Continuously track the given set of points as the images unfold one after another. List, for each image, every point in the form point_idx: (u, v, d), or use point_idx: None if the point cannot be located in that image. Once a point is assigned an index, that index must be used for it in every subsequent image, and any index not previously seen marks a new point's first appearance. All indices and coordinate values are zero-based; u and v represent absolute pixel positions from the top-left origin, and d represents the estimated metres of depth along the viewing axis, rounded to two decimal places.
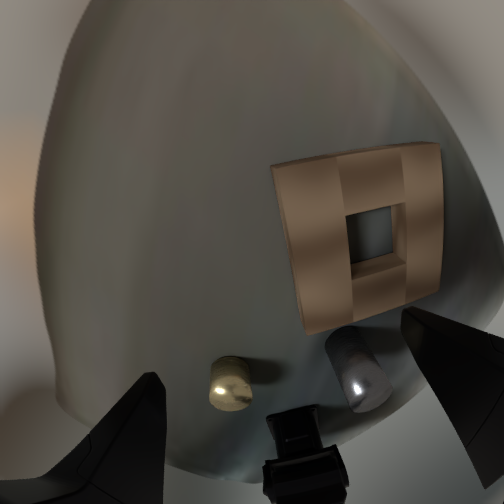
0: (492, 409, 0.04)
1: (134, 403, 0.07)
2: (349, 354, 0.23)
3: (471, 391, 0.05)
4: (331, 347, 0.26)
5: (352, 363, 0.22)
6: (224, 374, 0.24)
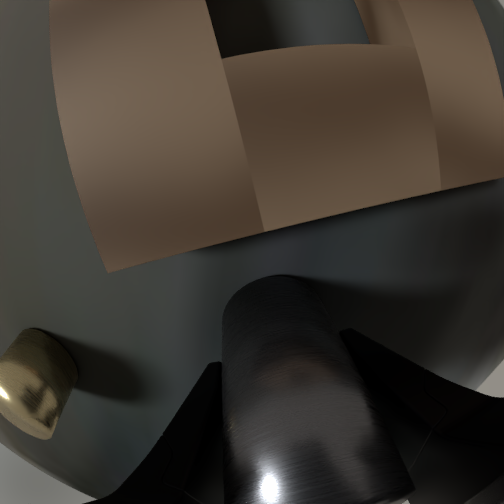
0: (418, 455, 0.04)
1: (210, 395, 0.07)
2: (257, 354, 0.07)
3: (399, 431, 0.05)
4: (225, 331, 0.09)
5: (257, 390, 0.06)
6: (3, 358, 0.08)
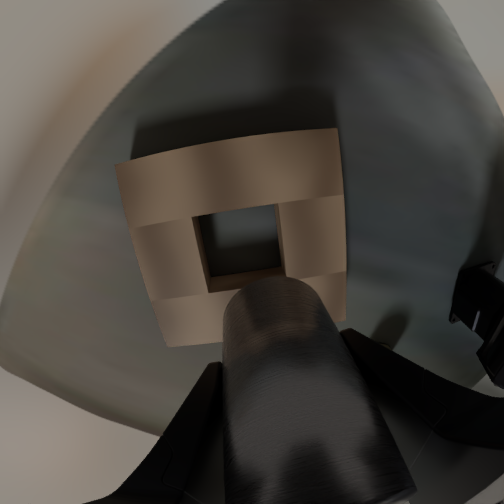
0: (418, 455, 0.04)
1: (210, 395, 0.07)
2: (258, 355, 0.07)
3: (399, 431, 0.05)
4: (225, 331, 0.09)
5: (258, 391, 0.06)
6: None
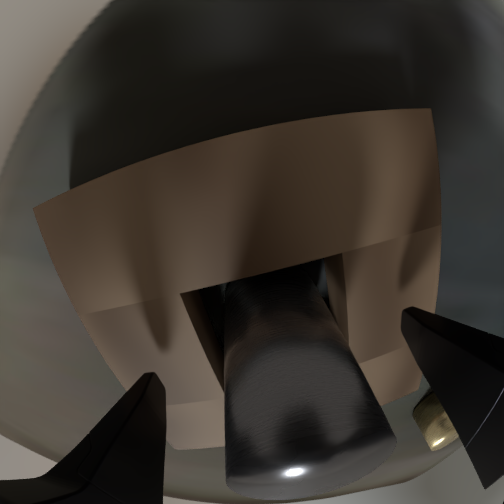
0: (492, 409, 0.04)
1: (134, 403, 0.07)
2: (255, 319, 0.08)
3: (471, 391, 0.05)
4: (227, 306, 0.11)
5: (254, 346, 0.07)
6: (424, 433, 0.15)
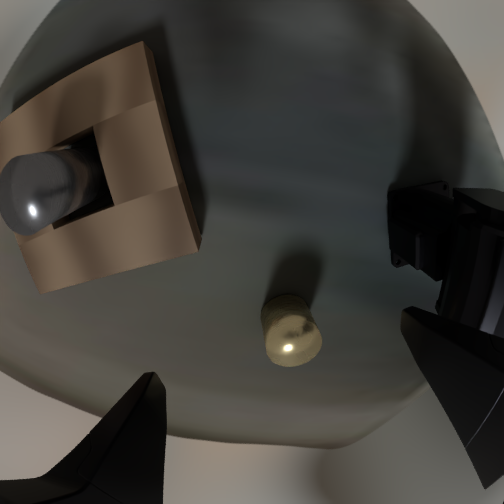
0: (492, 409, 0.04)
1: (134, 403, 0.07)
2: None
3: (471, 392, 0.05)
4: None
5: None
6: None
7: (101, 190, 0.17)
